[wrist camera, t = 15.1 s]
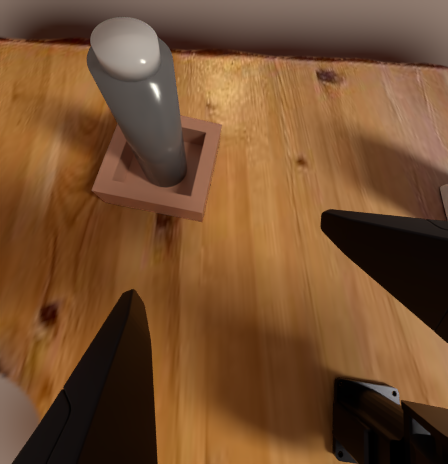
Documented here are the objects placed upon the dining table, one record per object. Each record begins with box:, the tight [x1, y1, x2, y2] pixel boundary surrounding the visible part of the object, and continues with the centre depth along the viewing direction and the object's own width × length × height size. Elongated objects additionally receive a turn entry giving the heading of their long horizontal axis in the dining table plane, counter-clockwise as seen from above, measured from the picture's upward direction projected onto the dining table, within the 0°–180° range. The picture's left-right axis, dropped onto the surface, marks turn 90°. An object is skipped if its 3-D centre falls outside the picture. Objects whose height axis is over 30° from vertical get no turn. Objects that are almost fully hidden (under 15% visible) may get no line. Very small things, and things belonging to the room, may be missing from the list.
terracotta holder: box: [91, 115, 222, 222], centre depth 23 cm, size 11×11×3 cm
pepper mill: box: [87, 17, 187, 188], centre depth 18 cm, size 5×5×13 cm
